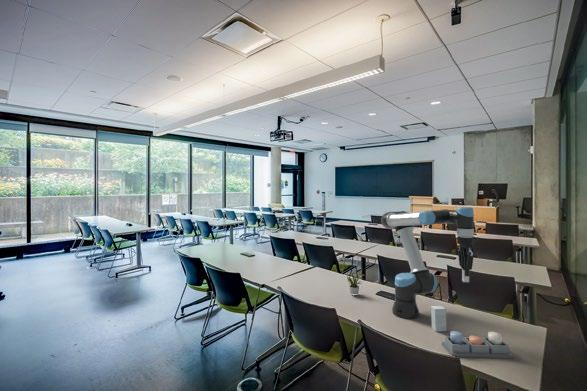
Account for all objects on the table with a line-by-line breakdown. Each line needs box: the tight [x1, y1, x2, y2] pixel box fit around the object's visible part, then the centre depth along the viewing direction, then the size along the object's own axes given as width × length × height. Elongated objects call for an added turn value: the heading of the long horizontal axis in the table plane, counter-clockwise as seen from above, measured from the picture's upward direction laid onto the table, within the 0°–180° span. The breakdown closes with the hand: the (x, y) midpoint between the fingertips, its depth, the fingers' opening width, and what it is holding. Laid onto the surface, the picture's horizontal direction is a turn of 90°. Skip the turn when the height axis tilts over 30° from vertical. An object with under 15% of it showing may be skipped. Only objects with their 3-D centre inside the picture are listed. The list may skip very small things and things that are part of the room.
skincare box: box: [430, 305, 447, 333], centre depth 151 cm, size 6×4×12 cm
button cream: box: [487, 331, 503, 345], centre depth 130 cm, size 5×5×4 cm
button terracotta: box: [468, 335, 483, 345], centre depth 131 cm, size 5×5×4 cm
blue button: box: [449, 330, 464, 344], centre depth 132 cm, size 5×5×4 cm
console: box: [441, 336, 514, 359], centre depth 131 cm, size 10×26×4 cm, turn 86°
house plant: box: [346, 272, 364, 295], centre depth 205 cm, size 14×14×16 cm
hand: (465, 281), depth 148 cm, fingers closed
